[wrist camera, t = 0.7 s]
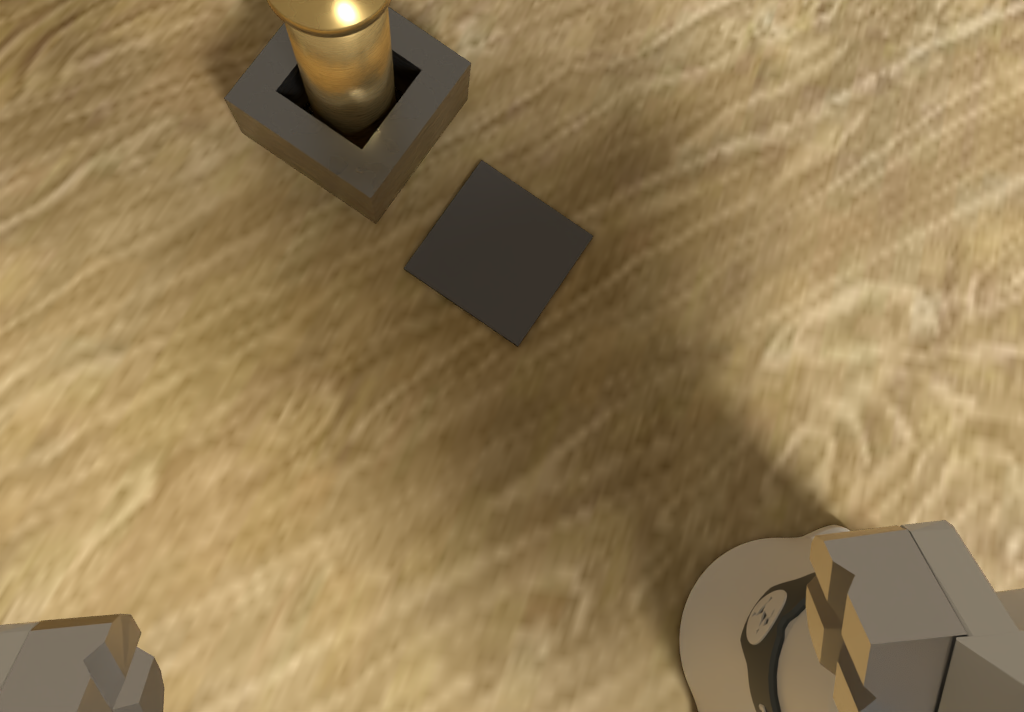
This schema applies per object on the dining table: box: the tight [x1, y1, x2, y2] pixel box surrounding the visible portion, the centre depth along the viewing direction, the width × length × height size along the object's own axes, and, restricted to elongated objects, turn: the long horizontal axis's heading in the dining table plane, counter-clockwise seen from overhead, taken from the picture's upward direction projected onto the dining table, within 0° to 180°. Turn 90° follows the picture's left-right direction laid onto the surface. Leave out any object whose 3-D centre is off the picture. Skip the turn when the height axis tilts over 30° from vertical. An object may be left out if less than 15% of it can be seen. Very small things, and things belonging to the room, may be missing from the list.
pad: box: [404, 160, 593, 346], centre depth 67 cm, size 10×10×1 cm
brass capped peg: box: [267, 0, 396, 149], centre depth 58 cm, size 7×7×20 cm
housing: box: [224, 7, 471, 223], centre depth 65 cm, size 12×12×6 cm
